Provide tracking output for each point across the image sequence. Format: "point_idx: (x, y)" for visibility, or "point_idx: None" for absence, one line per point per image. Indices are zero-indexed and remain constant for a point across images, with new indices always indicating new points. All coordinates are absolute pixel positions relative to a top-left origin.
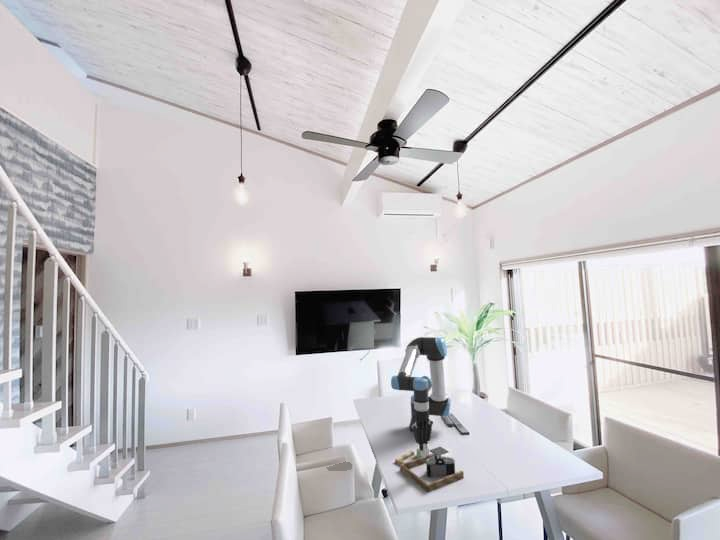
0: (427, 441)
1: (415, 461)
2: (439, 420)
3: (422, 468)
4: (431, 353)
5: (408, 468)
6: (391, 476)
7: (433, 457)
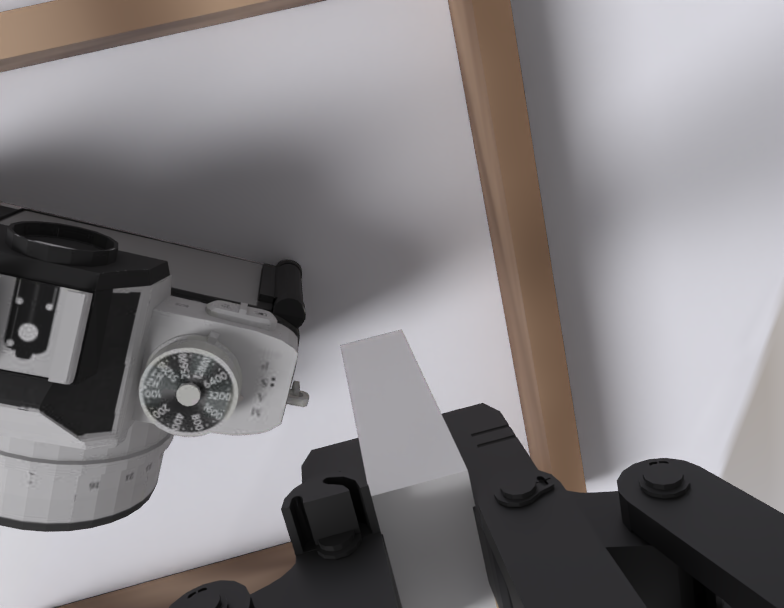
0: (266, 590)
1: None
2: None
3: (283, 468)
4: None
5: None
6: (710, 404)
7: (142, 399)
